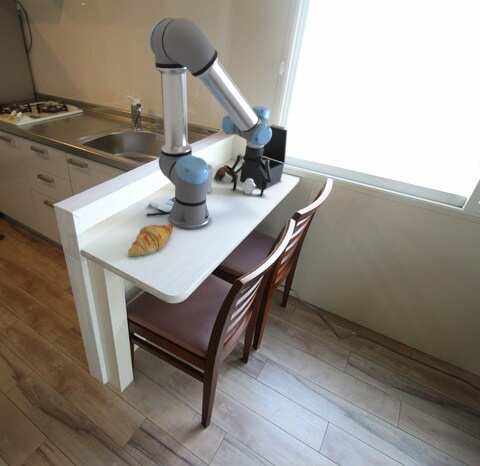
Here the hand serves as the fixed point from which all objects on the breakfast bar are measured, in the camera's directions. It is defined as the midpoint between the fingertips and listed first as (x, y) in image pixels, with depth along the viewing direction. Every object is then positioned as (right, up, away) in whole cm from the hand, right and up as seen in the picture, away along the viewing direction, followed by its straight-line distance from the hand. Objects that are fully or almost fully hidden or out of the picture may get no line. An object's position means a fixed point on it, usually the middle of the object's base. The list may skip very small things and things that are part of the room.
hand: (247, 192), depth 147 cm
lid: (+13, +24, +6) cm, 28 cm away
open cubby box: (+8, +7, +12) cm, 16 cm away
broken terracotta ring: (-10, +7, +11) cm, 16 cm away
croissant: (-40, -23, -38) cm, 59 cm away
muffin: (0, 0, 0) cm, 0 cm away
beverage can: (-20, 0, -1) cm, 20 cm away
